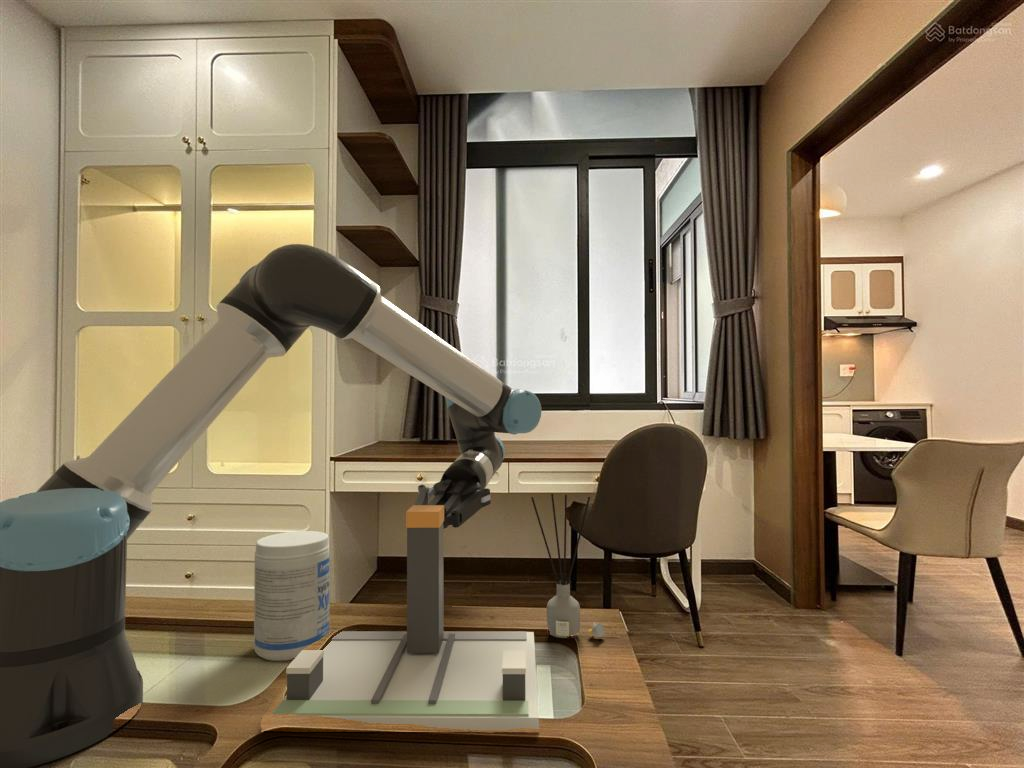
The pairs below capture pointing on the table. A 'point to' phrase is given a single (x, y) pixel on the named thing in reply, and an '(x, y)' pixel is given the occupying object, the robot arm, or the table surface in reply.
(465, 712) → the panel
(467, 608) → the table surface
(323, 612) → the supplement tub
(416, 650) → the handle
